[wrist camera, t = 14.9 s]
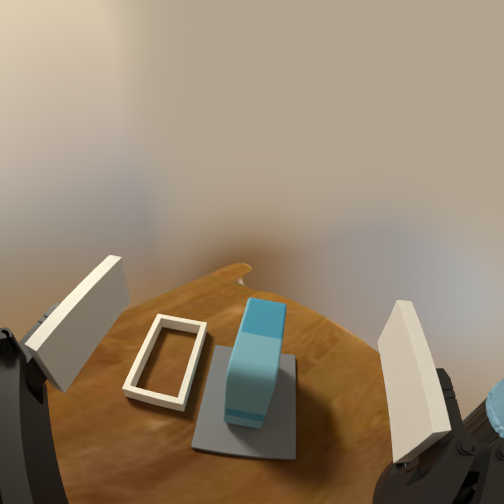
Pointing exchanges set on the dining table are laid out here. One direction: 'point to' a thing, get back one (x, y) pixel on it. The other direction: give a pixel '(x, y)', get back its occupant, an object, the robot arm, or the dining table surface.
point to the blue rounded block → (254, 363)
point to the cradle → (145, 351)
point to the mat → (242, 437)
